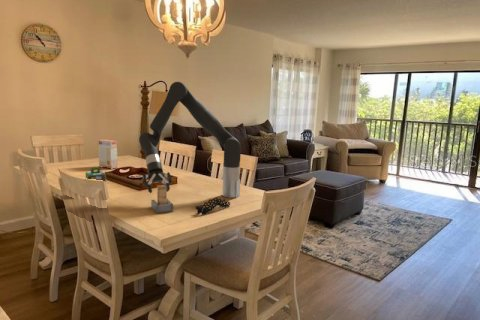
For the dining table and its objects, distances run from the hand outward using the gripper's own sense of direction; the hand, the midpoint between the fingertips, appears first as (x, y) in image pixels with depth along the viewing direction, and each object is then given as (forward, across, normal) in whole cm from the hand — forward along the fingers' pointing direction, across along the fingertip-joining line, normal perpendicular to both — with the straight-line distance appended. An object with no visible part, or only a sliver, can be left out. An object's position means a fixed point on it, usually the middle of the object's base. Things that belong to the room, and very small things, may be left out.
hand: (159, 191), depth 176 cm
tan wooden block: (+8, 0, +2) cm, 8 cm away
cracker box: (-70, -12, +82) cm, 108 cm away
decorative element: (+16, +23, -5) cm, 29 cm away
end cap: (+9, 0, +2) cm, 9 cm away
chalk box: (-20, -26, +32) cm, 46 cm away
